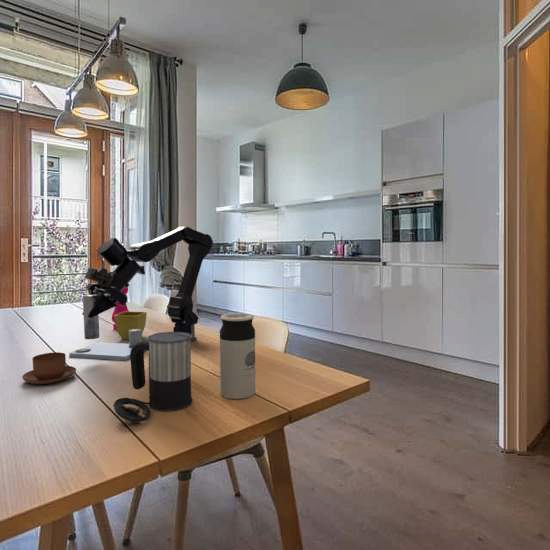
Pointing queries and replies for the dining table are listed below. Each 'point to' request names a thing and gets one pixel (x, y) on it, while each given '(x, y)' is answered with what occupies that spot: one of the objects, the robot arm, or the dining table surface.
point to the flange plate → (110, 348)
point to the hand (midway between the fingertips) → (86, 316)
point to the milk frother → (160, 375)
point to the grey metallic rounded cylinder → (90, 323)
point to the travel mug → (237, 356)
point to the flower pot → (129, 322)
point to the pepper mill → (120, 307)
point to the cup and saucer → (49, 369)
